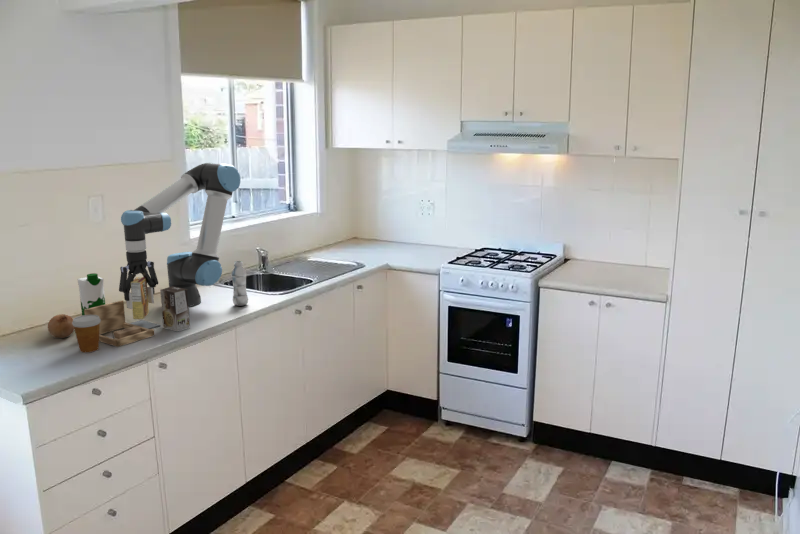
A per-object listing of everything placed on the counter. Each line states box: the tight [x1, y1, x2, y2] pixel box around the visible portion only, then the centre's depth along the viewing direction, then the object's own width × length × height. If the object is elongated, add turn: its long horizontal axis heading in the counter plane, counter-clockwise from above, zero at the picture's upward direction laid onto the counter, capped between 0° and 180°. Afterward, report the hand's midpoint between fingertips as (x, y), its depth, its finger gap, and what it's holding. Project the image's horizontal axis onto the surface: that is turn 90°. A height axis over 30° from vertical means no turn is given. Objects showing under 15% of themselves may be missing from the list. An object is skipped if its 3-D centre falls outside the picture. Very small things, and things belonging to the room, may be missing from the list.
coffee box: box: [160, 286, 191, 332], centre depth 271 cm, size 9×6×16 cm
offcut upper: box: [112, 326, 141, 339], centre depth 258 cm, size 9×4×2 cm, turn 144°
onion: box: [47, 313, 75, 339], centre depth 261 cm, size 10×9×10 cm
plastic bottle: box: [231, 260, 249, 307], centre depth 302 cm, size 6×7×20 cm
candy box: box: [130, 276, 150, 320], centre depth 272 cm, size 9×4×15 cm, turn 6°
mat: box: [130, 319, 161, 329], centre depth 275 cm, size 8×12×1 cm, turn 56°
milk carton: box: [77, 272, 106, 316], centre depth 280 cm, size 9×9×20 cm
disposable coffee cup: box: [72, 315, 101, 353], centre depth 246 cm, size 10×10×12 cm
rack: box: [84, 299, 155, 348], centre depth 261 cm, size 16×20×11 cm
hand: (140, 305), depth 273 cm, fingers closed on candy box, 9 cm apart
